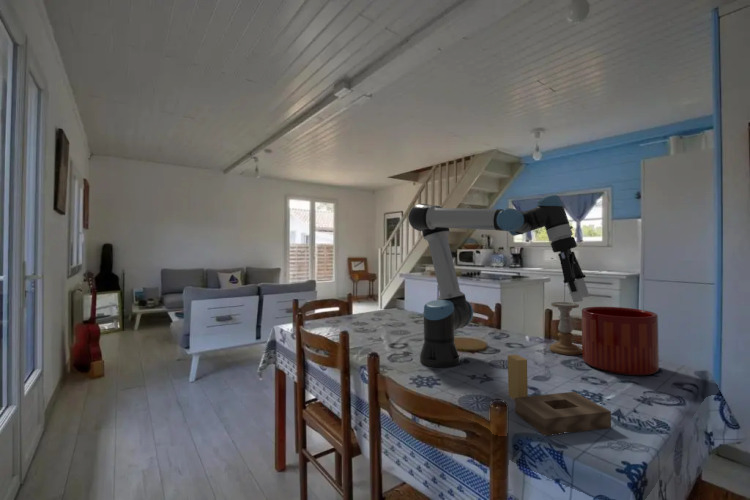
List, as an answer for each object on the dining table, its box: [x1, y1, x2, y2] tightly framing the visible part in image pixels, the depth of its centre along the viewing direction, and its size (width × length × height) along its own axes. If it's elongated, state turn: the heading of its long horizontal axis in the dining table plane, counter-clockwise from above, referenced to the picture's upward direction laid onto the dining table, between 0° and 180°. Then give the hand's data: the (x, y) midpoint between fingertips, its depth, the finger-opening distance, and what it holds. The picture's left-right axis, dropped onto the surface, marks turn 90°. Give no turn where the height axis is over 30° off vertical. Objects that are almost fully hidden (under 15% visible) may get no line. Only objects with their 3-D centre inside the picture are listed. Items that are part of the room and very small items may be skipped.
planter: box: [581, 306, 660, 377], centre depth 128 cm, size 23×23×20 cm
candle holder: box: [549, 301, 582, 356], centre depth 148 cm, size 12×12×20 cm
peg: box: [507, 354, 529, 401], centre depth 102 cm, size 3×5×12 cm, turn 11°
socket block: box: [514, 391, 612, 437], centre depth 88 cm, size 18×12×4 cm, turn 100°
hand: (582, 299), depth 116 cm, fingers open, 13 cm apart
